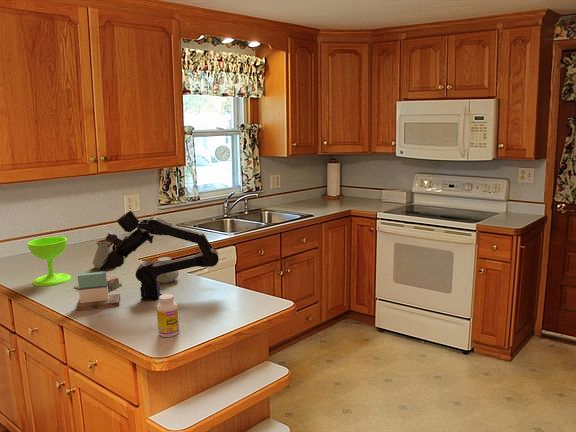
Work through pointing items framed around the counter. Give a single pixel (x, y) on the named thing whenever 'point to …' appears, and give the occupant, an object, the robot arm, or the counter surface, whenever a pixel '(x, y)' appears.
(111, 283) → the packaged product
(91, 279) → the mint green pillar
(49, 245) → the wineglass
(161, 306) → the supplement bottle
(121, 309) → the counter surface
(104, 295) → the beige rectangular block
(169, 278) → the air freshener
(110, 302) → the brown flat block
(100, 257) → the coffee pot
